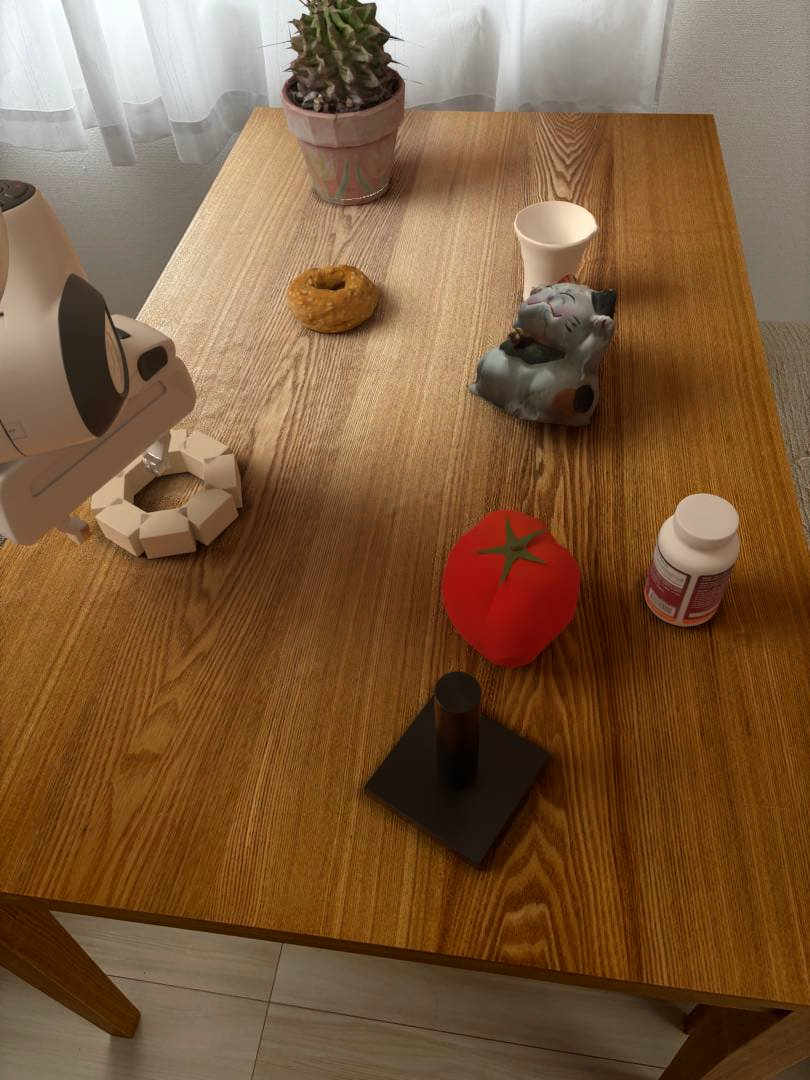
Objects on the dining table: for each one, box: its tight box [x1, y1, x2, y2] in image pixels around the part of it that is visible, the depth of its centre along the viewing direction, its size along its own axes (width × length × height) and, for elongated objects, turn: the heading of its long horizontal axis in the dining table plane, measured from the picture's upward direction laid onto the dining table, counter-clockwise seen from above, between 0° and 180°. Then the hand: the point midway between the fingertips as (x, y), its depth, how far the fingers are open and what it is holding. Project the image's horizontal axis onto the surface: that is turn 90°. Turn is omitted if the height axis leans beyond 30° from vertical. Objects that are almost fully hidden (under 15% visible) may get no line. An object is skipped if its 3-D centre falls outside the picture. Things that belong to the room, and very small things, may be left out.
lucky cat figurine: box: [465, 273, 618, 427], centre depth 86 cm, size 15×12×14 cm
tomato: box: [440, 508, 582, 670], centre depth 69 cm, size 11×13×10 cm
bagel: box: [285, 263, 381, 334], centre depth 99 cm, size 10×11×5 cm
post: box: [363, 670, 550, 871], centre depth 60 cm, size 10×10×13 cm
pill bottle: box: [643, 493, 741, 627], centre depth 70 cm, size 6×6×11 cm
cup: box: [513, 200, 601, 302], centre depth 97 cm, size 9×9×10 cm
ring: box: [90, 428, 243, 560], centre depth 83 cm, size 13×13×3 cm
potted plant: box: [255, 0, 427, 207], centre depth 108 cm, size 18×20×25 cm
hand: (121, 502), depth 78 cm, fingers open, 8 cm apart
